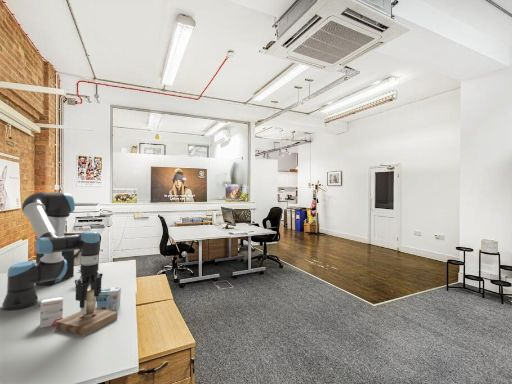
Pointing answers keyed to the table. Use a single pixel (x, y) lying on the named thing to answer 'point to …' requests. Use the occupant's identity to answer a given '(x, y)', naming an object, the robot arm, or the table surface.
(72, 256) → the headset box
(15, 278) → the robot arm
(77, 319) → the board
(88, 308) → the peg
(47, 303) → the ink box
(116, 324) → the table surface
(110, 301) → the light bulb box
